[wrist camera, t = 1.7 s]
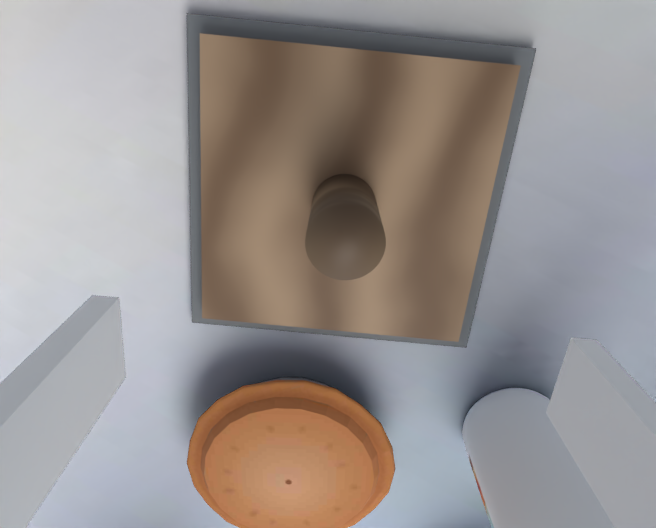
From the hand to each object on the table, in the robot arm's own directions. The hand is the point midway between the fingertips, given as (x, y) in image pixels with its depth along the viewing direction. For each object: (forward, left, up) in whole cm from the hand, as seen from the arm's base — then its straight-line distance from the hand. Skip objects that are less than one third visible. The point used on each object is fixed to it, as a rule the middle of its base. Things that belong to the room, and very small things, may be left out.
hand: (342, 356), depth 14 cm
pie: (+2, +20, -19) cm, 28 cm away
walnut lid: (0, 0, -18) cm, 18 cm away
